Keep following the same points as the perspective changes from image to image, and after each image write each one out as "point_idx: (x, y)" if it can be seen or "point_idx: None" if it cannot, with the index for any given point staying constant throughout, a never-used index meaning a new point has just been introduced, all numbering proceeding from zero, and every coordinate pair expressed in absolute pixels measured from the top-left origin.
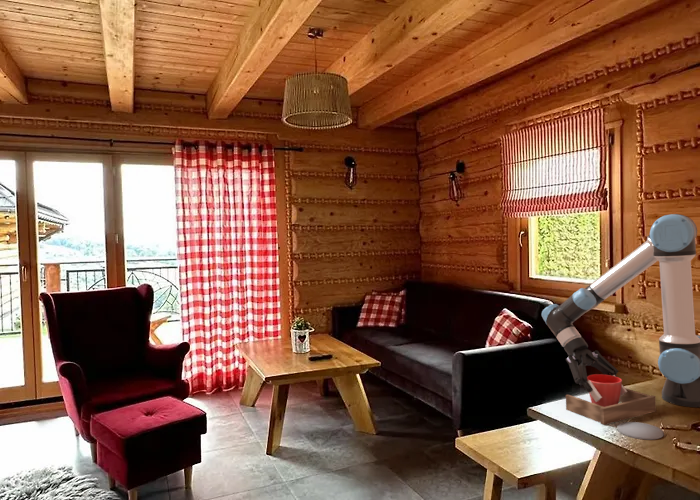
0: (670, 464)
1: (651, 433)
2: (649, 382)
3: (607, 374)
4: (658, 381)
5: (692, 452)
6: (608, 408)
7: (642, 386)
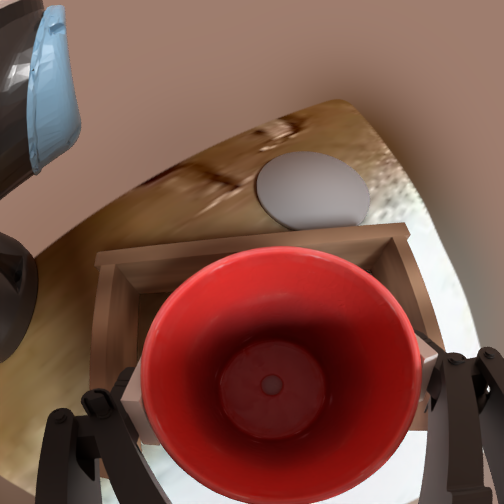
0: (354, 112)
1: (305, 164)
2: None
3: (144, 460)
4: None
5: (289, 115)
6: (381, 225)
7: None
